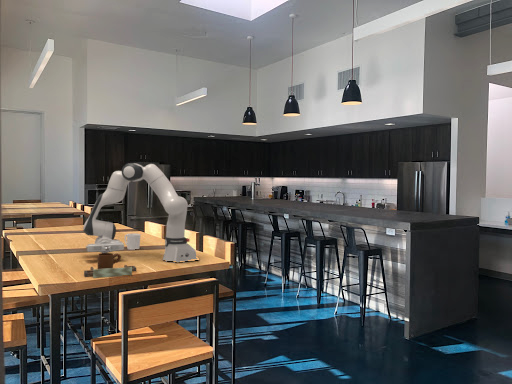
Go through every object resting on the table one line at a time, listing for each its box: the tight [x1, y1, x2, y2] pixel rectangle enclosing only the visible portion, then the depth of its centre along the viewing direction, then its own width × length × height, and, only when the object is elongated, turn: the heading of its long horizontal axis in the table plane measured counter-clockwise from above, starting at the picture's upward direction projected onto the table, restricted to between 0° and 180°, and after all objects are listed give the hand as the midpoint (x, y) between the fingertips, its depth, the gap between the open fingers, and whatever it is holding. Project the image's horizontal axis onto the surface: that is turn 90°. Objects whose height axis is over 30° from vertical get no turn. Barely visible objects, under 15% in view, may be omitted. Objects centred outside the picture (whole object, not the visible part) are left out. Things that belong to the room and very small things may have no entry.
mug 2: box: [124, 232, 142, 251], centre depth 283 cm, size 11×9×10 cm
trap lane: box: [83, 264, 137, 279], centre depth 212 cm, size 26×17×4 cm, turn 116°
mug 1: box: [97, 252, 122, 269], centre depth 215 cm, size 12×8×9 cm, turn 133°
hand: (107, 249), depth 232 cm, fingers closed
